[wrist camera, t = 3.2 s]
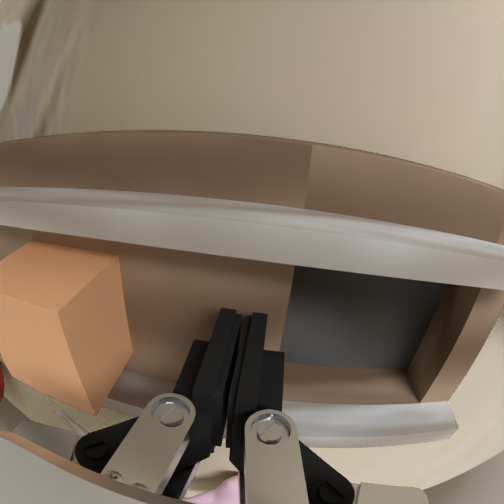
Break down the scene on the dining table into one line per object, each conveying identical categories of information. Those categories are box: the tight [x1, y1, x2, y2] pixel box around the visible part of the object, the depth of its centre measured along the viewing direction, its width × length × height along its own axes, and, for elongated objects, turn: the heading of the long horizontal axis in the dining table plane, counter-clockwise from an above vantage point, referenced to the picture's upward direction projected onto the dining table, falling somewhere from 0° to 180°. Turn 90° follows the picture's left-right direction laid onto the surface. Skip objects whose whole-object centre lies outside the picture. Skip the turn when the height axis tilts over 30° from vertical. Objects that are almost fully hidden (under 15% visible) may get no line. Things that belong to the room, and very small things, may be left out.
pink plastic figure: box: [183, 475, 239, 504], centre depth 20 cm, size 6×6×15 cm
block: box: [0, 241, 133, 416], centre depth 10 cm, size 5×5×4 cm
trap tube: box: [0, 130, 504, 448], centre depth 12 cm, size 14×34×5 cm, turn 85°
